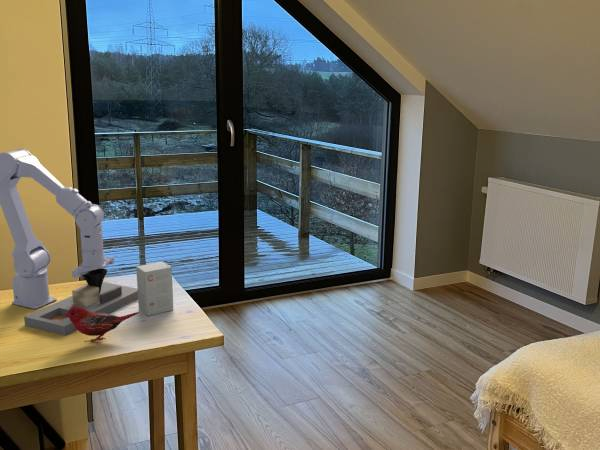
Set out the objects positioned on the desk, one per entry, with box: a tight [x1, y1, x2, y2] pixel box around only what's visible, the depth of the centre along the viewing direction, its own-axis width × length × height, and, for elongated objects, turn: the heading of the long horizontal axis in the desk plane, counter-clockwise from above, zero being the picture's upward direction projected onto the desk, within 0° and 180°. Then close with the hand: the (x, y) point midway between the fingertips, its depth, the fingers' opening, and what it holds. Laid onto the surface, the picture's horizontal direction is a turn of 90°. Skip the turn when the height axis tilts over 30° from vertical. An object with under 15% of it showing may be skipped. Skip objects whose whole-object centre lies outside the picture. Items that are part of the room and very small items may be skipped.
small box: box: [135, 261, 174, 317], centre depth 165 cm, size 8×6×13 cm
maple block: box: [71, 284, 100, 307], centre depth 164 cm, size 5×5×4 cm
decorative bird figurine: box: [64, 306, 140, 343], centre depth 145 cm, size 3×18×10 cm, turn 114°
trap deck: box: [23, 281, 138, 336], centre depth 164 cm, size 14×30×5 cm, turn 156°
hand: (95, 294), depth 167 cm, fingers closed
